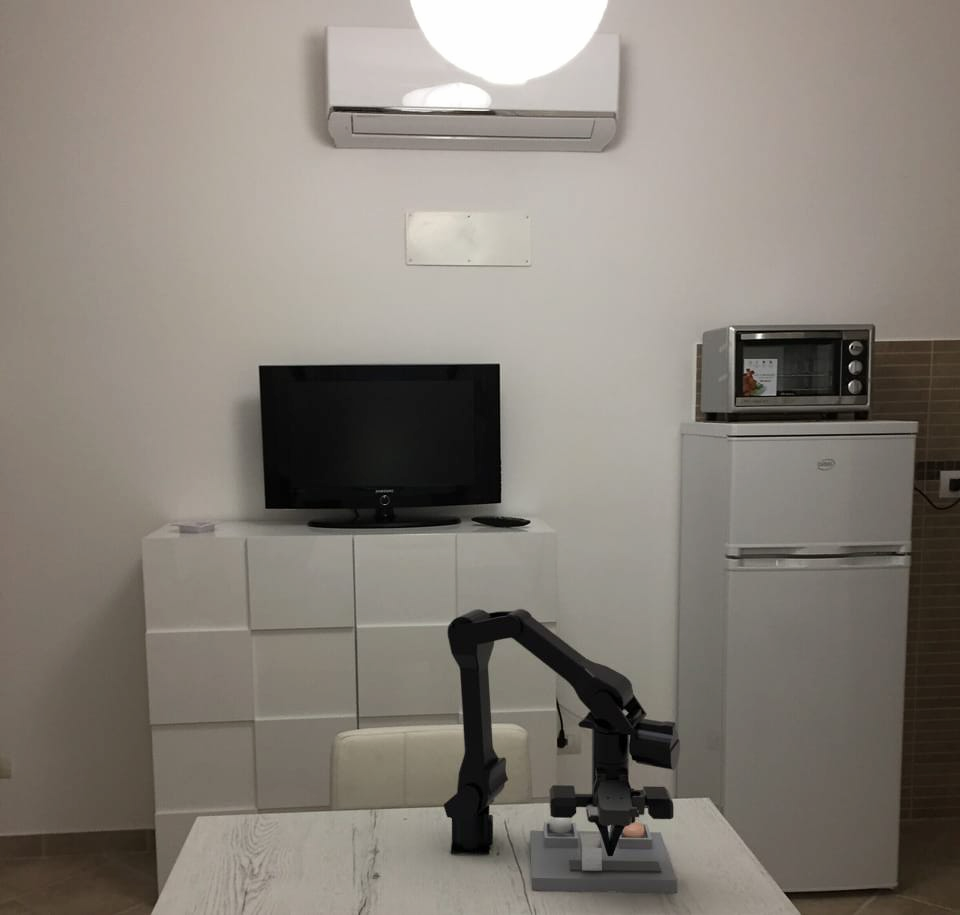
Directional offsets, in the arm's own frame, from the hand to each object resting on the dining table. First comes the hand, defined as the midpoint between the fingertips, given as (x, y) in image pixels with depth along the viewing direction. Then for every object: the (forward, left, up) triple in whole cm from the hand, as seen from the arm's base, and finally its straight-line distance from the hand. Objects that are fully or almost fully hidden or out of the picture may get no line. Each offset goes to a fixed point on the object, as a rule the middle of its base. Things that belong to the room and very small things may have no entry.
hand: (609, 855), depth 136 cm
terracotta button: (+5, +8, -1) cm, 10 cm away
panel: (-1, +4, -4) cm, 6 cm away
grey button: (-7, +8, 0) cm, 11 cm away
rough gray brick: (-3, 0, -1) cm, 3 cm away
